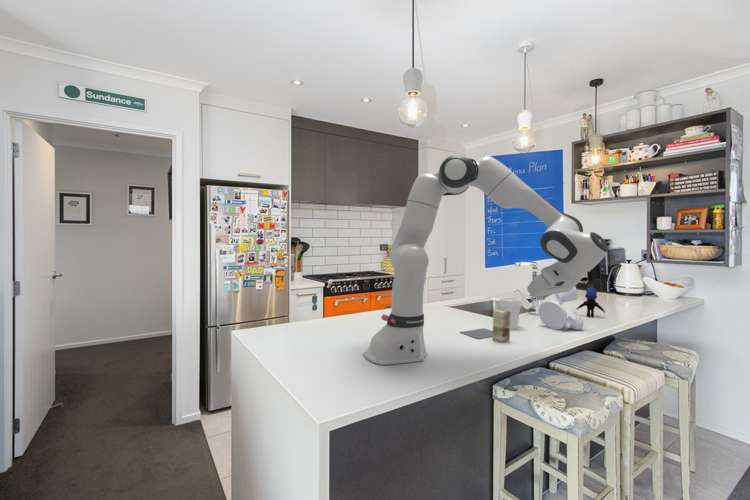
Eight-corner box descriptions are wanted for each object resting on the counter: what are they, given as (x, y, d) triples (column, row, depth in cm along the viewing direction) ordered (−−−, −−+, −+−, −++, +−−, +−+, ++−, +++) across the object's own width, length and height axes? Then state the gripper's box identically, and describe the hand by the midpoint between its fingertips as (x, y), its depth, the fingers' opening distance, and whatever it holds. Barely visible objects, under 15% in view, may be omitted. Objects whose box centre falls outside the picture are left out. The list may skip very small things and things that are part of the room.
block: (501, 343, 146) (502, 312, 145) (492, 340, 150) (493, 310, 150) (509, 341, 148) (510, 311, 148) (500, 338, 152) (501, 309, 152)
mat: (477, 339, 151) (477, 338, 151) (459, 332, 160) (459, 332, 160) (503, 335, 157) (503, 334, 157) (483, 328, 167) (483, 328, 167)
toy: (605, 317, 192) (606, 288, 191) (605, 319, 187) (606, 289, 186) (576, 314, 199) (577, 285, 198) (575, 316, 194) (576, 287, 193)
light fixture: (607, 304, 162) (572, 275, 172) (589, 316, 153) (553, 285, 163) (575, 338, 178) (545, 310, 188) (556, 350, 170) (526, 320, 180)
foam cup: (522, 331, 164) (523, 301, 163) (500, 329, 166) (500, 300, 165) (518, 325, 173) (519, 297, 173) (497, 324, 175) (498, 296, 175)
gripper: (578, 264, 131) (553, 288, 140) (539, 268, 121) (514, 294, 130) (590, 278, 127) (564, 302, 136) (551, 283, 118) (525, 309, 127)
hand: (539, 298), depth 133 cm, fingers closed
